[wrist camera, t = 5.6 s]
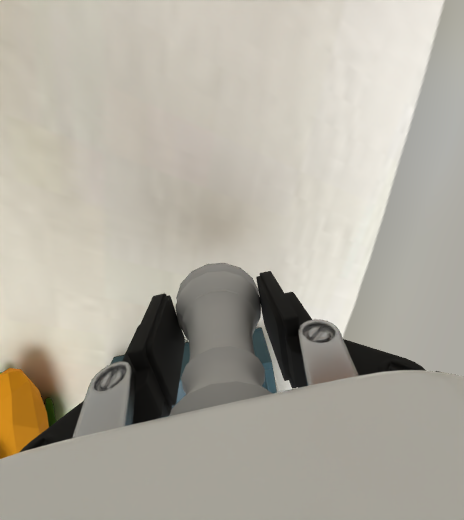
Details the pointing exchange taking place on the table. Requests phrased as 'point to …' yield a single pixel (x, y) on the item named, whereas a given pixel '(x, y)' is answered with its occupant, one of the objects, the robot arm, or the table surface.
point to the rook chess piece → (219, 337)
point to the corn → (21, 412)
